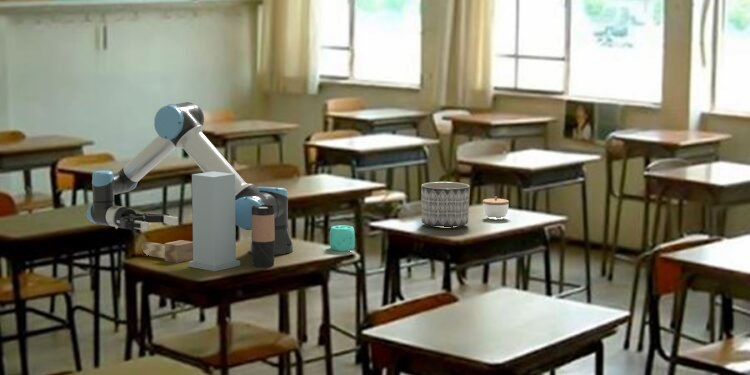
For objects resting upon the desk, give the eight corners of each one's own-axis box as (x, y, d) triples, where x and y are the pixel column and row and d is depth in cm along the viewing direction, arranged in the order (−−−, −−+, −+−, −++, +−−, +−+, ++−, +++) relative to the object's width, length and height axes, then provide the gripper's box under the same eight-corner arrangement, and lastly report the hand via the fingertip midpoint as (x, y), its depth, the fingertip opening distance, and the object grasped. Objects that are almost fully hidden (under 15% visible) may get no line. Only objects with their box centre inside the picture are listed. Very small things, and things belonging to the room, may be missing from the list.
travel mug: (271, 268, 409) (270, 208, 406) (249, 266, 410) (248, 207, 408) (277, 263, 416) (277, 205, 413) (255, 262, 418) (255, 204, 415)
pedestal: (189, 266, 410) (187, 174, 406) (214, 260, 420) (213, 170, 415) (214, 271, 403) (213, 177, 399) (240, 265, 413) (239, 174, 408)
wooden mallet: (136, 255, 428) (136, 238, 428) (153, 251, 435) (153, 235, 434) (177, 262, 417) (176, 245, 416) (194, 259, 423) (193, 242, 422)
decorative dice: (329, 247, 445) (329, 225, 444) (351, 246, 447) (351, 225, 445) (332, 251, 438) (332, 229, 436) (354, 251, 439) (354, 228, 438)
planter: (411, 226, 487) (411, 185, 485) (437, 220, 503) (438, 180, 500) (452, 232, 476) (453, 190, 474) (478, 225, 492) (478, 184, 489)
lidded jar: (498, 216, 514) (499, 193, 513) (513, 219, 505) (514, 197, 504) (477, 218, 509) (477, 195, 508) (492, 222, 500) (492, 199, 499)
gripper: (148, 223, 448) (189, 229, 435) (94, 232, 428) (135, 239, 415) (147, 202, 447) (189, 208, 434) (93, 211, 427) (135, 217, 414)
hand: (163, 223), depth 425 cm, fingers open, 13 cm apart
